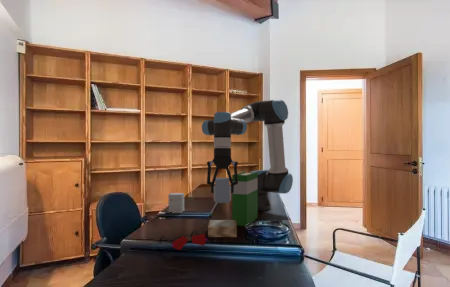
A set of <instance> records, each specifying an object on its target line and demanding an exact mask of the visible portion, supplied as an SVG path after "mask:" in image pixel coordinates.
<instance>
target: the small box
mask: <svg viewBox="0 0 450 287" xmlns="http://www.w3.org/2000/svg"><path fill="white" fill-rule="evenodd" d="M167 196H168V197H167V198H168V213H169V212H172V213H171V214H183V213H184V212H185V193H184V192H171V193H168V195H167ZM183 211H184V212H183ZM182 212H183V213H182Z"/></svg>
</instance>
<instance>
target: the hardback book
mask: <svg viewBox="0 0 450 287" xmlns="http://www.w3.org/2000/svg"><path fill="white" fill-rule="evenodd" d="M231 177H232V180H233V182H235V176H234V174H231ZM237 178H238V184H236V185H234V192H233V193H231V205H232V207H231V212H232V217H231V218H232V219H231V220H236V225H237V226H238V227H239V226H240V227H246V226H245V225H246V224H248V223H251V222H252V223H253V222H254V221H256V220H257V219H258V172H254V173H250V172H247V171H241V172H237ZM252 223H251V224H252Z"/></svg>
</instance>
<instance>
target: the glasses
mask: <svg viewBox="0 0 450 287" xmlns="http://www.w3.org/2000/svg"><path fill="white" fill-rule="evenodd" d="M194 233H196V234H194ZM190 234H191V235H188V237H191V241H190V242H191V244H196V245H199V246H205V244H206V242H207V241H208V238H207V237H206V235H205V233H199V232H197V231H195V230H193V231H191V233H190ZM163 238H165V239H166V241H168V243H169V244H171V246H172V248H174V249H175V250H178V251H181V250H182V248H183V247H184V246H185V245H187V244H188V241H189V239H188V238H187V235H183V236H177V237H175V238H174V239H173V240H172V241H171V240H170V239H168V238H167V237H166V235H161V237H160V240H162V239H163Z"/></svg>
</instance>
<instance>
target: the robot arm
mask: <svg viewBox="0 0 450 287" xmlns="http://www.w3.org/2000/svg"><path fill="white" fill-rule="evenodd" d="M288 109H289V108H288V105H287V104H286V102H285V101H284V100H282V99H267V100H260V101H255V102H252V103H249V104H247V105H245V106H242V107H240V109H239V110H237V111H236V110H235V111H233V112H228V111H216V112H215V113H214V114H213V115H214V116H213V119H208V120H204V121H203V122H202V124H201V131H202V133H203V134H204V135H206V136H213V147H214V149H213V159H212V160H208V161H207V162H206V166H207V176H206V179H207V180H206V184H207V185H209V186H210V192H211V194H213V202H215V179H216V178H218V177H217V175H218V173H219V170H222V169H223V170H225V172H226V175H227V178H229V202H232V193H233V192H234V185H236V184H238V178H237V173H238V164H239V163H238V161H236V160H233V159H232V149H231V147H232V136H233V135H234V136H235V135H236V136H240V135H243V134H245V133H246V132H247V129H248V123H251V122H263V125H264V127H266V129H267V131H266V132H267V142H268V143H267V144H268V153H269V154H268V156H269V167H270V168H269V169H260V170H253V171H249V173H254V172H258V211H260V212H261V211H270V210H271V209H272V203H271V201H270V197H269V193H273V194H274V193H276V194H280V195H281V194H288V193H290V191H291V189H292V188H293V182H294V177H293V175H292V173H290V172H289V169H288V168H287V167H286V160H285V156H286V155H285V146H284V131H283V130H284V129H283V125H285V122H286V121H287V120H288V116H289V110H288ZM213 164H214V166H215V167H216V168H215V171H214V174H213V177H212V180H211V176H212V166H213ZM231 164H232V166H233V172H234V176H235V182H233V180H232V174H231V171H230V168H229V167H230V166H231Z"/></svg>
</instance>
